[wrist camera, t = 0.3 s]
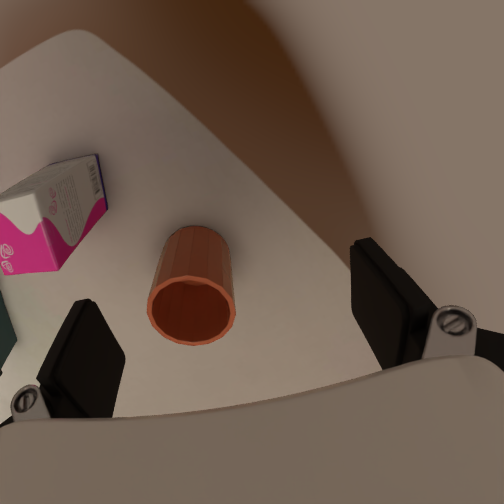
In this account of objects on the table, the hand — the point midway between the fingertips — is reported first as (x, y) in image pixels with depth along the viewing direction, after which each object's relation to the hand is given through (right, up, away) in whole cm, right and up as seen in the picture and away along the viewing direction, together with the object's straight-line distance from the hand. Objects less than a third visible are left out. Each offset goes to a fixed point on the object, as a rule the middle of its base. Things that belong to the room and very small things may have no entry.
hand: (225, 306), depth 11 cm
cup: (-5, +1, +21) cm, 21 cm away
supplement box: (-16, +8, +16) cm, 24 cm away
